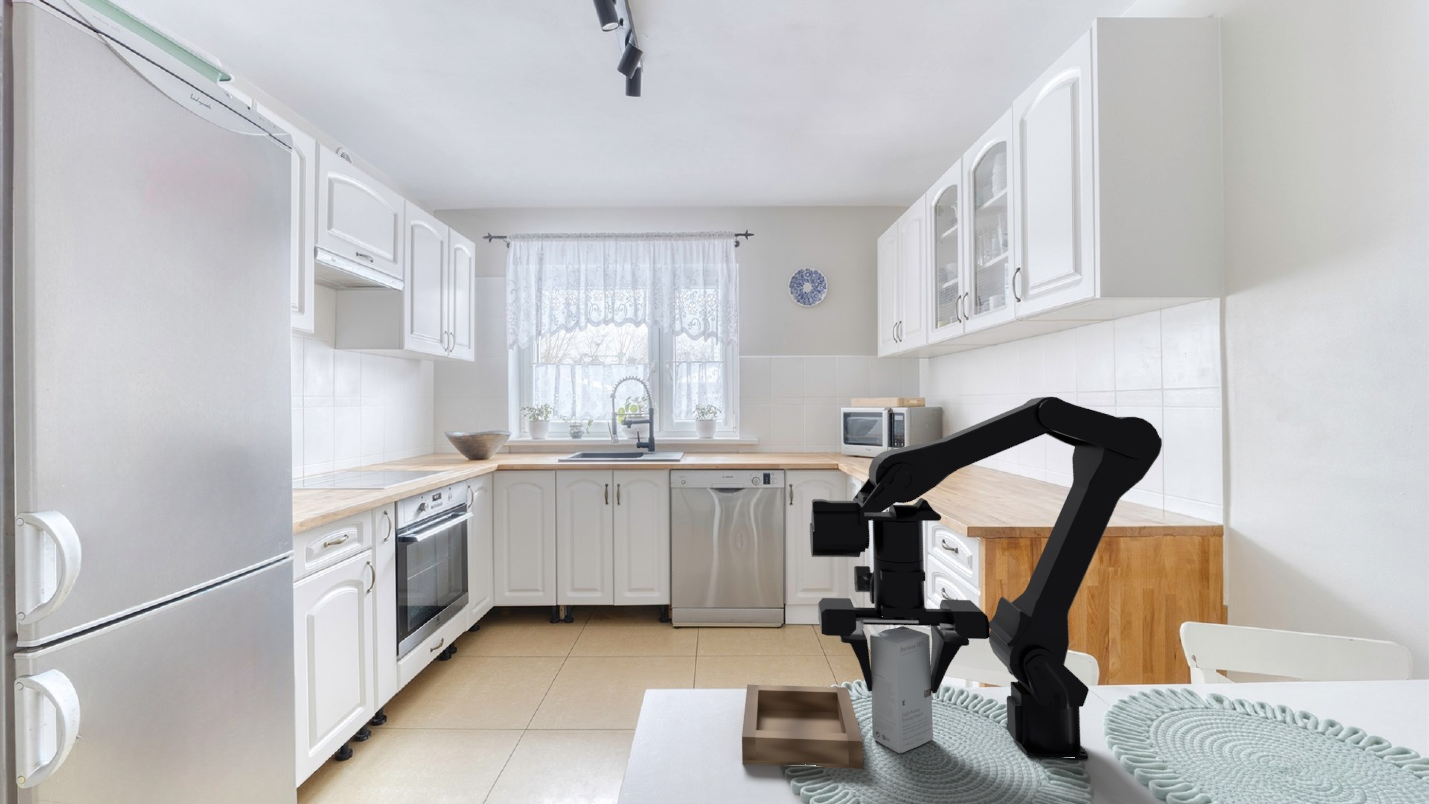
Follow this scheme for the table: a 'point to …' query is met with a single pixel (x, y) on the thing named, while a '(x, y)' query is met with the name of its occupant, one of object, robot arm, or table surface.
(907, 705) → the skincare box
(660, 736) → the table surface
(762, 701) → the brown wooden tray
